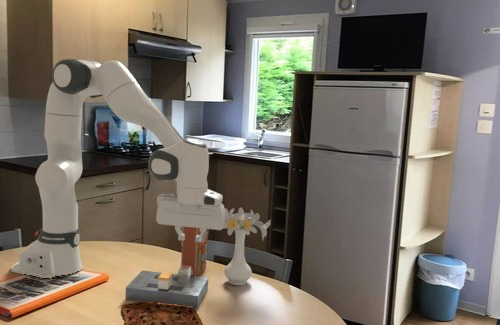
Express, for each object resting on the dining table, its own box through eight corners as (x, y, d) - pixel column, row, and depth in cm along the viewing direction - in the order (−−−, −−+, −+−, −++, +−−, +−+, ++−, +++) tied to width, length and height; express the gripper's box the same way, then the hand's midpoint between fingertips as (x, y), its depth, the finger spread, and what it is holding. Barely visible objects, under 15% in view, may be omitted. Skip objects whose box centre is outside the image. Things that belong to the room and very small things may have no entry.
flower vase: (266, 291, 152) (272, 216, 148) (210, 287, 152) (214, 213, 148) (266, 276, 165) (271, 207, 161) (214, 272, 165) (218, 203, 161)
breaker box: (125, 300, 139) (125, 275, 138) (142, 282, 153) (142, 259, 152) (197, 308, 137) (198, 283, 136) (207, 289, 151) (208, 266, 149)
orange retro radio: (209, 265, 171) (196, 281, 156) (190, 263, 172) (176, 278, 158) (212, 208, 168) (199, 219, 153) (193, 206, 169) (178, 217, 154)
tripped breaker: (157, 288, 139) (158, 277, 138) (162, 282, 143) (162, 271, 143) (167, 289, 138) (168, 278, 138) (172, 283, 143) (172, 272, 142)
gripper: (153, 194, 134) (152, 240, 136) (224, 200, 132) (221, 247, 134) (160, 190, 140) (159, 234, 142) (227, 196, 138) (225, 241, 140)
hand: (189, 241), depth 138 cm, fingers open, 4 cm apart
